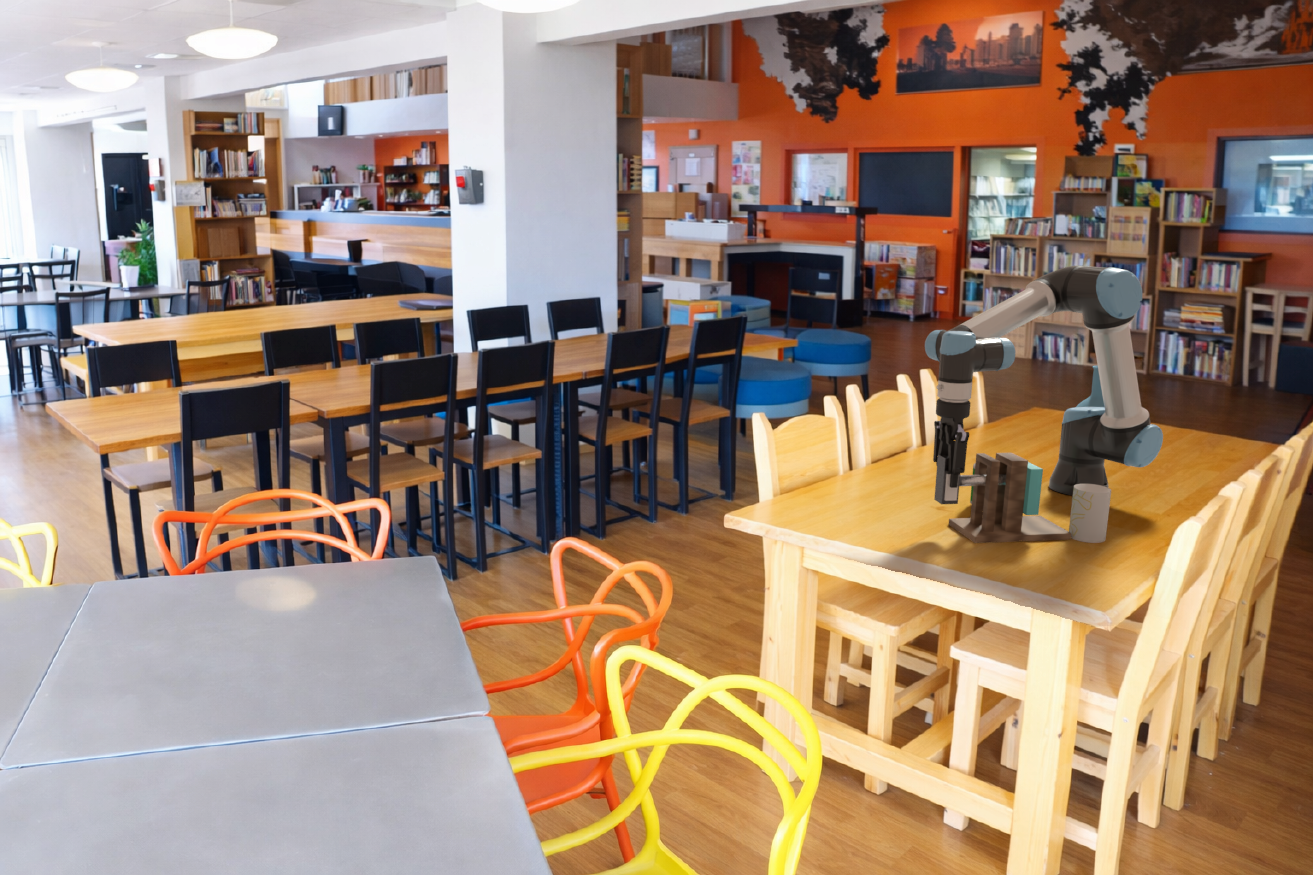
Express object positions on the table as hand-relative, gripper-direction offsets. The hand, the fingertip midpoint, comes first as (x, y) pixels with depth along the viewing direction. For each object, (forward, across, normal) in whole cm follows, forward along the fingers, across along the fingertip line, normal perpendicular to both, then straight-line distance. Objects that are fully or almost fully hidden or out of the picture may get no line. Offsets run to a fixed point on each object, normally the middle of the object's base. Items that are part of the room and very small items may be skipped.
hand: (946, 497), depth 244 cm
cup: (+10, +6, +33) cm, 35 cm away
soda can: (+10, -20, +21) cm, 30 cm away
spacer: (+3, 0, +19) cm, 19 cm away
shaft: (+1, 0, +10) cm, 10 cm away
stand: (+9, 0, +17) cm, 19 cm away
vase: (+10, -88, +94) cm, 130 cm away
